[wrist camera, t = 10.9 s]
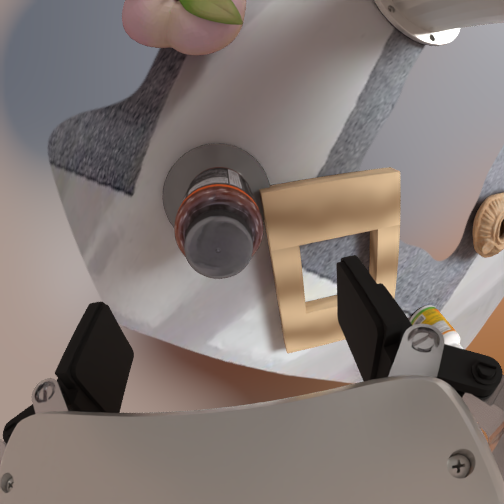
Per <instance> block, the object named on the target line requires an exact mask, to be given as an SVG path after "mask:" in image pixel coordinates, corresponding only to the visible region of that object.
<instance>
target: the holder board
mask: <svg viewBox="0 0 504 504" xmlns="http://www.w3.org/2000/svg"><path fill="white" fill-rule="evenodd" d="M259 190H260V196H261V202H262V207H263V213H264V222H265V227H266V233H267V239H268V245H269V251H270V257H271V263H272V269H273V275H274V281H275V287H276V293H277V299H278V306H279V312H280V318H281V325H282V331H283V337H284V343H285V347H286V351H287V353H292V352H296V351H300V350H305V349H309V348H313V347H317V346H321V345H325V344H329V343H333V342H337V341H340V340H344V339H346V338H345V336H344V334H343V332H342V329H341V327H340V325H339V322H338V317H337V295H334V296H330V297H326V298H322V299H317V300H313V301H309V302H305V296H304V285H303V276H302V266H301V257H300V248H299V245H304V244H309V243H313V242H318V241H323V240H328V239H333V238H338V237H343V236H347V235H352V234H357V233H362V232H367V231H370V261H369V273H370V275H371V276H372V277H373V279H374V280H375V282H376V283H377V284H379V283H381V284H383V285H384V286H385V287H386V288H387V290H388V291H389V293H390V294H391V295H392V297H393V298H394V296H395V287H396V278H397V266H398V253H399V235H400V171H398V170H395V169H393V168H391V167H389V168H381V169H373V170H365V171H358V172H350V173H344V174H337V175H330V176H324V177H317V178H311V179H305V180H299V181H293V182H288V183H282V184H276V185H271V186H270V187H269V188H264V189H259Z"/></svg>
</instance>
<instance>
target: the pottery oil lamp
mask: <svg viewBox="0 0 504 504" xmlns="http://www.w3.org/2000/svg"><path fill="white" fill-rule="evenodd" d="M472 234H473V244H474V249H475V251H476V252H477V253H478V254H479V255H481V256H482V257H491V256H493V255H496V254H498V253H499V252H500V251H502V250H503V249H504V193H499V194H494V195H491V196H489V197H488V198H486V199H485V201H484V202H483V203H482V205H481V206H480V208H479V209H478V211H477V213H476V215H475V218H474V223H473V233H472Z"/></svg>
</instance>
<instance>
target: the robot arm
mask: <svg viewBox="0 0 504 504" xmlns="http://www.w3.org/2000/svg"><path fill="white" fill-rule="evenodd" d="M374 2H375V3H376V5H377V6H378V8H379V9H380V11H381V12H382V13H383V15H384V16H385V17H386V18H387V19H388V21H389V22H391V23H392V24H393V25H394V26H395V27H396V28H397V29H398V30H399V31H401V32H402V33H403V34H404V35H406V36H408V37H409V38H411V39H413V40H414V41H417V42H419V43H422V44H425V45H430V46H439V45H445V44H448V43H450V42H452V41H453V40H454V39H455V38H456V36H457V35H458V33H459V31H460V28H463V27H470V26H477V25H485V24H494V23H504V0H374ZM337 317H338V322H339V325H340V327H341V329H342V332H343V334H344V336H345V338H346V341H347V343H348V345H349V348H350V350H351V352H352V355H353V357H354V359H355V362H356V364H357V366H358V369H359V371H360V373H361V376H362V378H363V381H364V382H360V383H355V384H350V385H346V386H343V387H338V388H334V389H330V390H325V391H321V392H316V393H311V394H306V395H301V396H296V397H291V398H286V399H281V400H275V401H269V402H262V403H257V404H249V405H242V406H234V407H226V408H216V409H206V410H194V411H179V412H158V413H119V412H120V408H121V403H122V400H123V395H124V392H125V388H126V383H127V380H128V376H129V372H130V368H131V365H132V361H133V357H134V353H133V350H132V348H131V346H130V344H129V342H128V341H127V339H126V337H125V336H124V334H123V332H122V330H121V328H120V327H119V325H118V323H117V321H116V319H115V317H114V315H113V314H112V312H111V310H110V308H109V306H108V305H106V304H105V303H103V302H96V303H91V304H89V306H88V308H87V309H86V311H85V313H84V315H83V317H82V319H81V321H80V323H79V324H78V326H77V328H76V330H75V332H74V334H73V336H72V338H71V340H70V342H69V344H68V346H67V348H66V350H65V352H64V354H63V356H62V359H61V361H60V363H59V365H58V367H57V369H56V372H55V374H56V375H57V377H58V379H57V381H56V380H55V379H52V378H48V379H45V380H43V381H41V382H40V383H39V384H37V386H36V387H35V388H34V390H33V393H32V402H33V404H32V405H31V406H30V407H28V408H27V409H25V410H24V411H23V412H21V413H20V414H19V415H17V416H16V417H14V418H13V419H12V420H10V421H9V422H8V423H7V424H6V426H5V428H4V431H3V439H4V441H2V440H0V504H504V375H503V374H502V369H501V366H500V365H499V363H498V362H497V361H496V360H495V359H493V358H491V357H489V356H486V355H482V354H478V353H474V352H471V351H467V350H464V349H461V348H457V347H454V346H450V345H447V344H444V337H443V334H442V333H441V332H440V331H439V329H437V328H436V327H434V326H432V325H429V324H415V325H412V324H411V322H410V321H409V319H408V318H407V317H406V315H405V314H404V312H403V311H402V309H401V308H400V307H399V305H398V304H397V302H396V301H395V300H394V298H393V297H392V295H391V294H390V293H389V291H388V290H387V288H386V287H385V286H384V285H383V284H381V283H379V284H377V283H376V282H375V280H374V279H373V277H372V276H371V275H370V273H369V272H368V270H367V269H366V268H365V266H364V265H363V264H362V262H361V261H360V260H359V258H358V257H357V256H356V255H353V256H348V257H344V258H341V262H338V263H337ZM477 422H478V423H477ZM480 428H482V429H483V430H484V431H485V432H486V434H487V436H488V443H487V440H486V438H485V436H484V434H483V432H482V431H481V429H480Z"/></svg>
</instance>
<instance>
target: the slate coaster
mask: <svg viewBox="0 0 504 504" xmlns="http://www.w3.org/2000/svg"><path fill="white" fill-rule="evenodd" d="M213 167H225V168H229V169H232V170H234V171H236V172H237V173H239V174H240V175H241V176H243V178H244V179H245V180H246V181H247V183H248V184H249V186H250V189H251V191H252V194H253V196H254V199H255V201H256V204H257V206H258V208H259V210H260V214H261V216H262V221H264V213H263V207H262V202H261V196H260V190H259V189H264V188H269V187H270V185H269V181H268V178H267V176H266V174H265V172H264V170H263V168H262V167H261V165H260V164H259V163H258V162H257V161H256V160H255V159H254V158H253V157H252V156H251V155H250V154H249V153H247V152H246V151H244V150H242V149H240V148H237V147H235V146H232V145H228V144H207V145H203V146H200V147H197V148H195V149H192V150H191V151H189V152H187V153H186V154H184V155H183V156H182V157H181V158H180V159H179V160H178V161H177V162H176V163H175V164H174V165H173V167H172V168H171V170H170V171H169V173H168V175H167V178H166V181H165V184H164V189H163V204H164V209H165V212H166V215H167V217H168V219H169V221H170V223H171V224H172V225H173V227H174V228H175V219H176V215H177V213H178V210H179V207H180V205H181V203H182V200H183V198H184V196H185V194H186V191H187V189H188V187H189V185H190V183H191V182H192V181H193V179H194V178H195V177H196V176H197V175H198V174H200V173H201V172H203V171H204V170H207V169H209V168H213Z"/></svg>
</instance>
